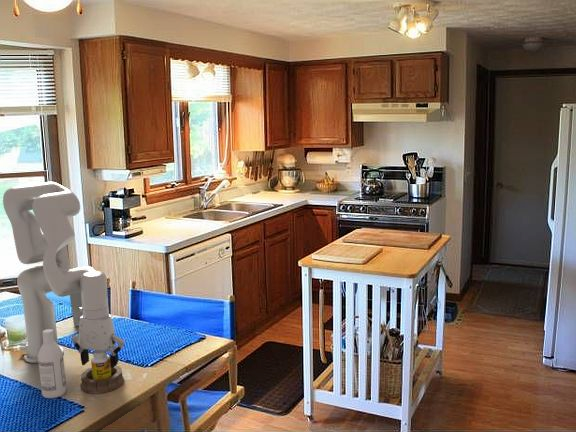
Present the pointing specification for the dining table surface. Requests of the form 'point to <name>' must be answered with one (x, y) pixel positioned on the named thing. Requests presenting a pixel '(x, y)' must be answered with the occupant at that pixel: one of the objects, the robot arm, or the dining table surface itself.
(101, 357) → the supplement bottle
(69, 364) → the dining table surface
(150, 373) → the dining table surface
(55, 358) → the bath foam
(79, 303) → the skincare box
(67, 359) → the dining table surface
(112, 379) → the round brown bowl
